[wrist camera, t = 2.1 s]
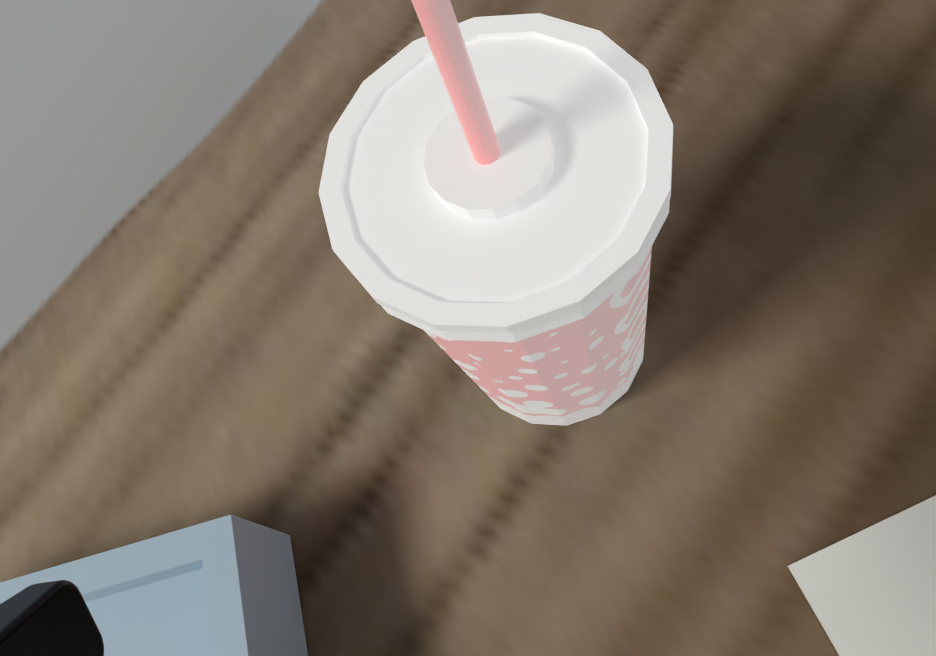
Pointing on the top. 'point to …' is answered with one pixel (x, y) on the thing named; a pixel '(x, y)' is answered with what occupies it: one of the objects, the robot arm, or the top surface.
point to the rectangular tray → (190, 592)
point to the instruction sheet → (877, 586)
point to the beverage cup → (508, 203)
